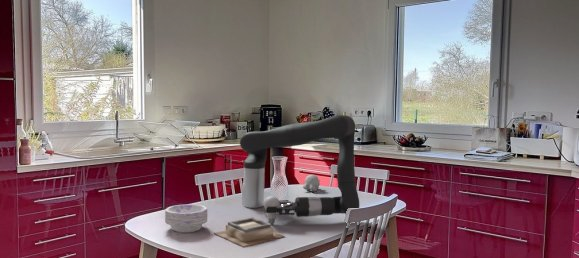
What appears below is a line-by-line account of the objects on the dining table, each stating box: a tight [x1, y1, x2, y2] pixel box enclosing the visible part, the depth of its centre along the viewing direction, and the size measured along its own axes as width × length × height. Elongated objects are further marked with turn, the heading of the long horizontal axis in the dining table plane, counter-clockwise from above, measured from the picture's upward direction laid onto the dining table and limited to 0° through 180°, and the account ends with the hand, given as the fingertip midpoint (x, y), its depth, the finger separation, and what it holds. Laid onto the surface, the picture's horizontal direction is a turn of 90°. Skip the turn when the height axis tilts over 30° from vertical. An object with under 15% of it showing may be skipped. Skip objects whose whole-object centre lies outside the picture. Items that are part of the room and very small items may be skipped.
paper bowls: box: [164, 203, 208, 233], centre depth 175 cm, size 15×15×8 cm
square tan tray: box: [213, 217, 286, 248], centre depth 169 cm, size 18×18×4 cm
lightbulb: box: [263, 195, 280, 225], centre depth 183 cm, size 6×6×11 cm
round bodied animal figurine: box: [302, 174, 321, 193], centre depth 246 cm, size 7×12×8 cm, turn 148°
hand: (265, 207), depth 182 cm, fingers closed on lightbulb, 5 cm apart
